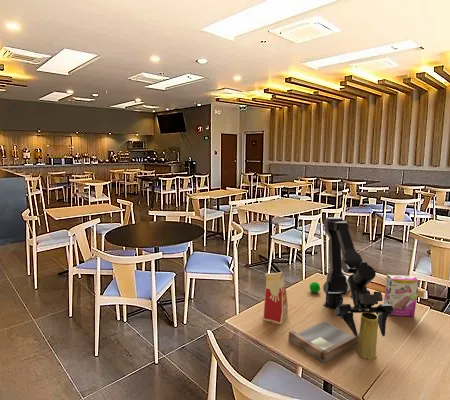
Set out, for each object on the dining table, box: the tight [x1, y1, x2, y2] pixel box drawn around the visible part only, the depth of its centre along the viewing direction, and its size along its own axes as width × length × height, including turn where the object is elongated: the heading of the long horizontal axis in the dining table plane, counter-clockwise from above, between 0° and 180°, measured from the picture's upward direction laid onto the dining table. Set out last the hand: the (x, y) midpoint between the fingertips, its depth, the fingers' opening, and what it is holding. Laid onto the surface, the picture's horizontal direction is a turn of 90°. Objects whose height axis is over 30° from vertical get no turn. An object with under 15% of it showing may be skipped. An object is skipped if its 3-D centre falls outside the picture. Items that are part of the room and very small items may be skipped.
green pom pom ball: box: [309, 281, 321, 293], centre depth 160 cm, size 5×5×5 cm
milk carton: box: [262, 271, 289, 325], centre depth 136 cm, size 9×9×20 cm
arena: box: [288, 320, 359, 364], centre depth 121 cm, size 16×20×4 cm
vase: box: [356, 312, 379, 360], centre depth 113 cm, size 6×6×14 cm
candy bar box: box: [383, 274, 420, 318], centre depth 139 cm, size 11×5×16 cm, turn 84°
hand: (370, 336), depth 111 cm, fingers open, 9 cm apart
